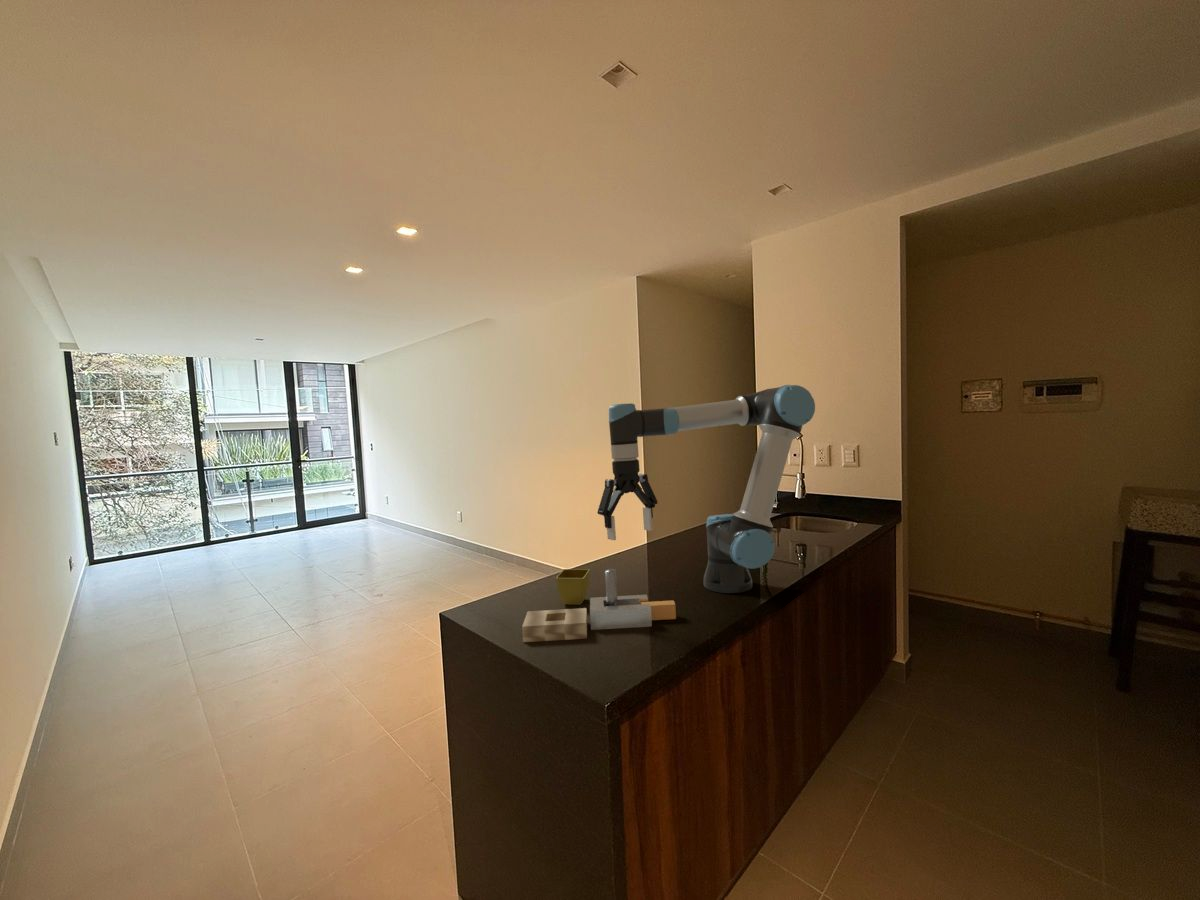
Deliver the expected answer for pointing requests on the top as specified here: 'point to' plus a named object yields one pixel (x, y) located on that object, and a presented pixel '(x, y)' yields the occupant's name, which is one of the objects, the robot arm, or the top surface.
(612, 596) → the drill peg
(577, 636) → the rack block
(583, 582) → the flower pot
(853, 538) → the top surface
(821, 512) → the top surface
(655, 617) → the drift key
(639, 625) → the socket block
